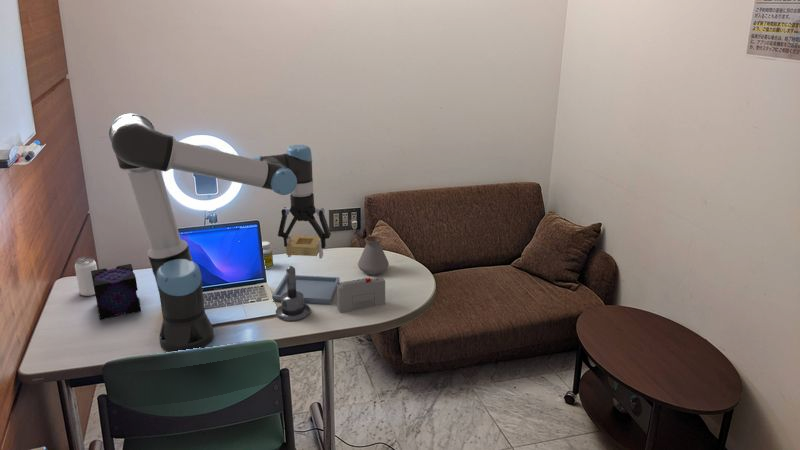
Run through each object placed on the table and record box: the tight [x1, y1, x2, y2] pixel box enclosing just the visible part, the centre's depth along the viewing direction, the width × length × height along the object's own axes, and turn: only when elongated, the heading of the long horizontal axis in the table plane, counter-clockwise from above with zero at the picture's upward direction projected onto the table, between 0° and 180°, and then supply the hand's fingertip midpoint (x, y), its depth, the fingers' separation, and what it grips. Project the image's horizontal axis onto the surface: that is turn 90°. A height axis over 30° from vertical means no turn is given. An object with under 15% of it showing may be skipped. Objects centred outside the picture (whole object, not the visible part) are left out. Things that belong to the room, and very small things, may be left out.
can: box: [74, 256, 98, 297], centre depth 201 cm, size 6×6×12 cm
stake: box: [275, 265, 311, 322], centre depth 189 cm, size 11×11×16 cm
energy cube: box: [91, 263, 142, 321], centre depth 192 cm, size 12×12×12 cm
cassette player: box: [336, 276, 386, 314], centre depth 195 cm, size 16×3×10 cm, turn 112°
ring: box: [285, 234, 320, 257], centre depth 200 cm, size 12×10×3 cm
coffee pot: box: [357, 219, 390, 276], centre depth 224 cm, size 21×12×15 cm, turn 13°
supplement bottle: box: [261, 241, 274, 270], centre depth 223 cm, size 5×5×10 cm
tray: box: [271, 274, 340, 306], centre depth 206 cm, size 17×20×2 cm
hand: (305, 256), depth 201 cm, fingers closed on ring, 10 cm apart
